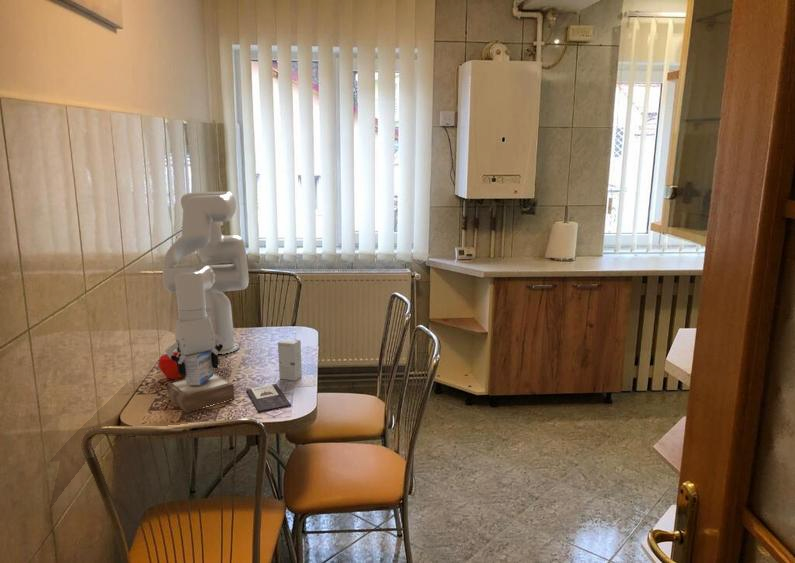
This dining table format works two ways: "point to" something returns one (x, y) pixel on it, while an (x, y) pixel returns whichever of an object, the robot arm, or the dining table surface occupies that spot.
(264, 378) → the dining table surface
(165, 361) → the apple
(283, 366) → the skincare box
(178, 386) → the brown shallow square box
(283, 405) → the chocolate bar
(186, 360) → the medicine box
